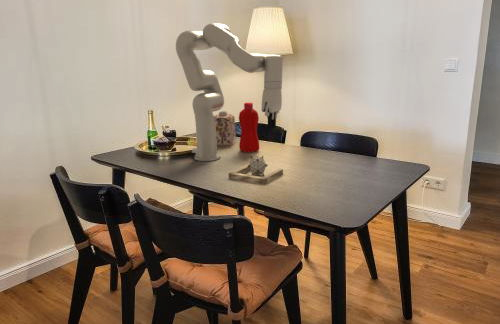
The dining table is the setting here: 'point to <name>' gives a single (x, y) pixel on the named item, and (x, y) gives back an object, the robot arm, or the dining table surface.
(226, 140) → the decorative jar
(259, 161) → the game die
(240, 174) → the u-shaped tan bracket
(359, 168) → the dining table surface
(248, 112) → the water bottle
